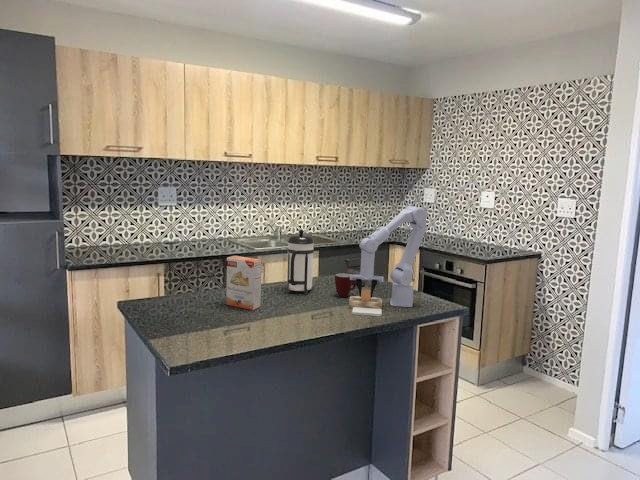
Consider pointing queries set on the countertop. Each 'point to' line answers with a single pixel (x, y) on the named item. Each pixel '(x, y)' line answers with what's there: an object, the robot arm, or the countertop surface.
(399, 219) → the robot arm
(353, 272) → the perforated stone tool
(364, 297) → the plug
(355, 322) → the countertop surface
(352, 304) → the beige holed block
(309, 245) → the coffee press
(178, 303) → the countertop surface
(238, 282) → the cracker box
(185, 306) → the countertop surface
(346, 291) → the mug
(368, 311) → the mat
